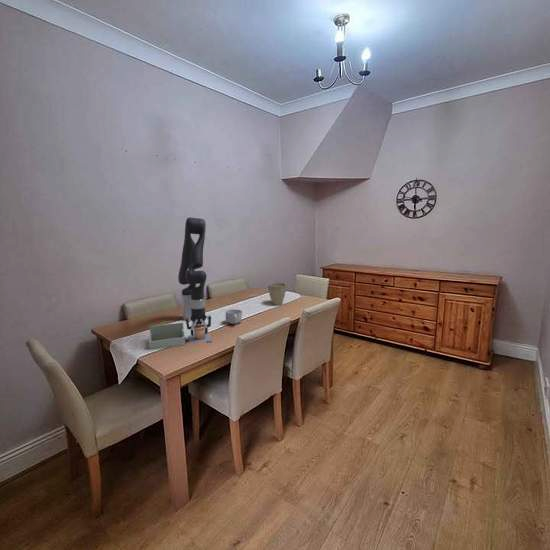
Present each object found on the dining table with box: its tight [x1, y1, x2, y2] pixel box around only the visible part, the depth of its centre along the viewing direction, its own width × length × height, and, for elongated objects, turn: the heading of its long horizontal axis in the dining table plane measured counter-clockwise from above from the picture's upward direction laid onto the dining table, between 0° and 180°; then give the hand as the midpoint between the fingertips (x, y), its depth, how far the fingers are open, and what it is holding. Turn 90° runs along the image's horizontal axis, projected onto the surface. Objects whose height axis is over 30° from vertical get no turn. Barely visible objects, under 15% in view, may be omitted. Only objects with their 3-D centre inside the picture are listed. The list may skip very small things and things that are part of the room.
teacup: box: [224, 308, 243, 325], centre depth 198 cm, size 14×11×8 cm
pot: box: [193, 324, 205, 340], centre depth 171 cm, size 6×6×7 cm
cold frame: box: [148, 322, 186, 350], centre depth 166 cm, size 14×18×9 cm
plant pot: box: [267, 282, 287, 306], centre depth 241 cm, size 15×15×16 cm
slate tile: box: [187, 332, 213, 344], centre depth 172 cm, size 12×12×1 cm
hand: (199, 334), depth 172 cm, fingers open, 6 cm apart
